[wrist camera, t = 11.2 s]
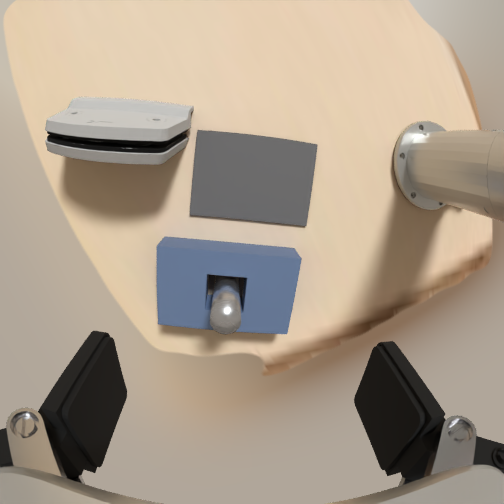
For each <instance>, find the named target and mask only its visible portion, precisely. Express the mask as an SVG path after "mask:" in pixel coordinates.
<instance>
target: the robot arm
mask: <svg viewBox="0 0 504 504" xmlns="http://www.w3.org/2000/svg"><path fill="white" fill-rule="evenodd" d="M394 170H395V176H396V179H397V183H398V185H399V187H400V189H401V191H402V193H403V194H404V196H405V197H406V198H407V199H408V200H409V201H410V202H411V203H412V204H414V205H415V206H417V207H420V208H422V209H426V210H436V209H439V208H441V207H443V206H445V205H446V204H448V205H452V206H455V207H458V208H462V209H465V210H468V211H471V212H474V213H477V214H481V215H484V216H487V217H489V218H492V219H495V220H498V221H501V222H504V130H456V131H446V130H445V129H444V128H443V127H442V126H440V125H438V124H437V123H434V122H431V121H420V122H416V123H413V124H411V125H410V126H408V127H407V128H406V129H405V130H404V131H403V132H402V133H401V135H400V137H399V139H398V141H397V144H396V147H395V153H394ZM126 398H127V389H126V386H125V382H124V379H123V375H122V371H121V367H120V363H119V360H118V355H117V351H116V347H115V342H114V339H113V338H111V337H110V335H109V334H108V333H104V332H99V331H93V332H91V334H90V335H89V337H88V338H87V339H86V340H85V342H84V343H83V345H82V346H81V347H80V349H79V350H78V352H77V353H76V355H75V356H74V358H73V359H72V360H71V362H70V363H69V365H68V366H67V367H66V369H65V370H64V372H63V373H62V375H61V377H60V378H59V379H58V381H57V382H56V384H55V386H54V387H53V389H52V390H51V392H50V393H49V395H48V397H47V398H46V400H45V401H44V403H43V404H42V406H41V407H40V409H39V411H38V412H37V411H36V410H34V409H32V408H21V409H18V410H16V411H14V412H13V413H11V415H10V416H9V417H8V420H7V423H6V424H7V425H6V428H5V429H1V430H0V504H162V503H155V502H151V501H146V500H141V499H136V498H132V497H127V496H123V495H120V494H116V493H112V492H108V491H105V490H101V489H97V488H94V487H91V486H88V485H85V483H84V481H83V479H82V476H81V475H82V472H83V470H87V471H90V472H93V473H95V472H96V469H97V467H101V466H102V464H103V461H104V458H105V455H106V452H107V449H108V446H109V444H110V441H111V438H112V435H113V432H114V429H115V427H116V424H117V421H118V419H119V416H120V414H121V411H122V408H123V406H124V403H125V401H126ZM354 403H355V406H356V409H357V411H358V413H359V416H360V418H361V420H362V423H363V425H364V428H365V430H366V432H367V435H368V437H369V440H370V442H371V445H372V447H373V450H374V452H375V455H376V457H377V460H378V462H379V465H380V467H381V469H382V470H385V471H386V474H387V476H389V475H393V474H396V473H399V472H401V475H402V479H401V481H400V484H399V486H398V487H395V488H392V489H388V490H384V491H381V492H377V493H374V494H370V495H366V496H362V497H358V498H353V499H349V500H344V501H339V502H333V503H328V504H504V444H501V443H498V442H494V441H491V440H487V439H484V438H481V437H478V436H476V428H475V426H474V424H473V423H472V422H471V421H470V420H469V419H467V418H465V417H462V416H451V417H449V418H448V419H447V420H445V418H444V415H445V413H444V411H443V410H442V408H441V407H440V405H439V404H438V402H437V401H436V399H435V398H434V396H433V395H432V393H431V392H430V391H429V389H428V388H427V386H426V385H425V383H424V382H423V381H422V379H421V378H420V376H419V375H418V374H417V372H416V371H415V369H414V368H413V367H412V365H411V364H410V362H409V361H408V360H407V358H406V357H405V356H404V354H403V353H402V352H401V350H400V349H399V348H398V346H397V345H396V344H395V343H394V342H393V341H390V342H380V343H378V344H377V346H376V347H374V348H373V350H372V353H371V355H370V358H369V361H368V364H367V367H366V370H365V372H364V375H363V377H362V380H361V382H360V385H359V387H358V390H357V393H356V395H355V399H354Z"/></svg>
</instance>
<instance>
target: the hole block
mask: <svg viewBox="0 0 504 504" xmlns="http://www.w3.org/2000/svg"><path fill="white" fill-rule="evenodd" d="M300 264H301V257H300V256H299V254H298V253H297V252H296V250H295V249H294V248H287V247H276V246H265V245H254V244H243V243H232V242H221V241H209V240H198V239H186V238H175V237H164V238H163V239H162V241H161V242H160V243H159V244H158V245H157V307H158V324H162V325H170V326H179V327H188V328H198V329H209V330H214V329H213V328H212V327H211V324H210V314H211V306H212V298H213V295H208V278H209V274H210V275H221V276H233V277H244V285H243V294H242V297H240V309H241V325H240V327H239V329H238V330H237V331H235V332H251V333H271V334H287V332H288V327H289V322H290V317H291V312H292V307H293V302H294V297H295V292H296V286H297V281H298V275H299V270H300Z"/></svg>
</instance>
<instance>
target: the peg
mask: <svg viewBox="0 0 504 504" xmlns="http://www.w3.org/2000/svg"><path fill="white" fill-rule="evenodd" d="M210 324H211V327H212V328H213V329H214V330H215V331H216V332H218V333H221V334H231V333H233V332H235V331H237V330H238V329H239V327H240V325H241V309H240V293H239V278H238V277H233V276H221V275H216V277H215V283H214V291H213V298H212V306H211V314H210Z"/></svg>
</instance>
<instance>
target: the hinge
mask: <svg viewBox="0 0 504 504" xmlns="http://www.w3.org/2000/svg"><path fill="white" fill-rule="evenodd" d="M193 109H194V106H188V105H181V104H174V103H166V102H157V101H148V100H137V99H124V98H106V97H77V98H74V99H72V101H71V103H70V105H69V107H68V108H67V109H66V110H64V111H62V112H60V113H58V114H56V115H54V116H52V117H50V118H48V119H47V122H46V128H45V130H46V131H47V133H48V134H50V135H48V137H47V139H46V140H45V142H46V146H47V150H48V151H49V152H52V153H54V154H58V155H61V156H66V157H70V158H75V159H82V160H88V161H97V162H108V163H122V164H151V165H157V164H162V163H164V162H166V161H167V160H168V159H170V158H171V157H172V156H174V155H175V154H176V153H178V152H179V151H180V150H182V149H183V148H185V146H186V144H187V142H188V139H189V138H187V137H186V134H183V133H184V132H186V131H187V129H189V128H191V112H192V111H193Z"/></svg>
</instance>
